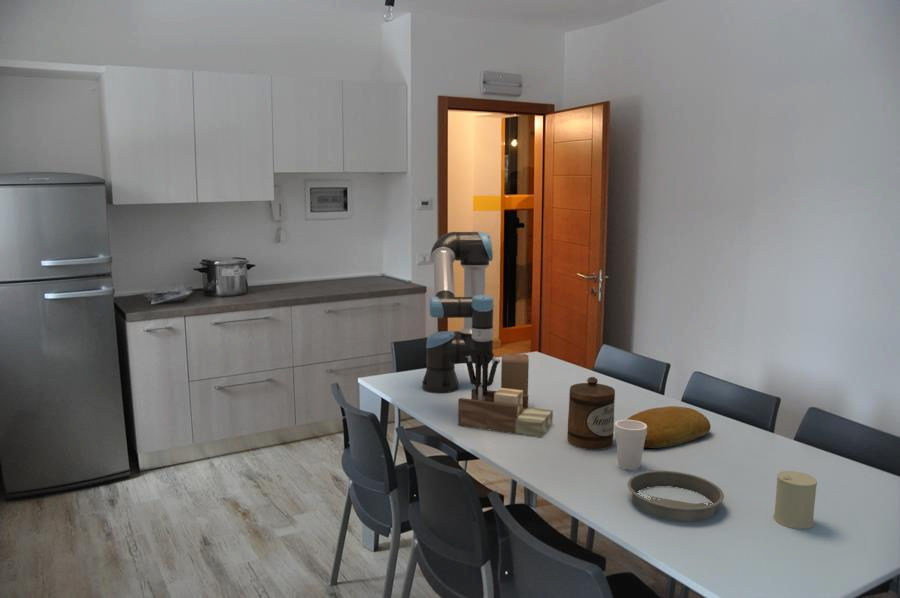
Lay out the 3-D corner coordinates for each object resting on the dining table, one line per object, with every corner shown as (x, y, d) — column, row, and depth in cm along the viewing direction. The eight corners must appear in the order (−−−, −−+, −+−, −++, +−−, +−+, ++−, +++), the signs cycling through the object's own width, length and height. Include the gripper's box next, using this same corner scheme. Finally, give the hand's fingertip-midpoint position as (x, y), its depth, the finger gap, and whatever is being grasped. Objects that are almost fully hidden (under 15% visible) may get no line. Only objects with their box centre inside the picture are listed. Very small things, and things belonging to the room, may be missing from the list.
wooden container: (597, 453, 227) (600, 386, 223) (558, 442, 237) (560, 377, 233) (621, 441, 237) (624, 377, 234) (582, 431, 247) (585, 369, 244)
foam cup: (627, 474, 211) (629, 431, 208) (606, 463, 219) (608, 422, 217) (651, 468, 215) (653, 427, 213) (630, 458, 223) (632, 418, 221)
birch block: (501, 406, 257) (501, 387, 256) (522, 409, 254) (523, 390, 253) (493, 413, 250) (494, 393, 249) (515, 416, 247) (516, 396, 246)
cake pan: (743, 518, 184) (744, 501, 183) (659, 530, 177) (660, 513, 176) (686, 480, 207) (687, 465, 206) (610, 490, 200) (610, 475, 199)
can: (766, 513, 186) (769, 469, 184) (800, 512, 187) (804, 468, 185) (785, 530, 177) (789, 484, 175) (821, 528, 178) (825, 483, 176)
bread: (720, 436, 243) (722, 408, 241) (644, 455, 226) (646, 425, 224) (679, 421, 259) (680, 394, 257) (605, 437, 242) (606, 409, 240)
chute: (473, 413, 266) (473, 388, 264) (552, 423, 254) (552, 397, 253) (458, 425, 252) (458, 399, 250) (541, 437, 241) (541, 410, 239)
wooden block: (527, 404, 277) (528, 353, 274) (527, 412, 267) (528, 360, 264) (501, 403, 278) (502, 352, 275) (500, 411, 268) (501, 359, 265)
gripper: (461, 339, 251) (460, 404, 255) (496, 343, 246) (495, 409, 250) (468, 335, 258) (468, 398, 261) (503, 338, 253) (501, 403, 256)
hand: (481, 403), depth 256 cm, fingers closed
